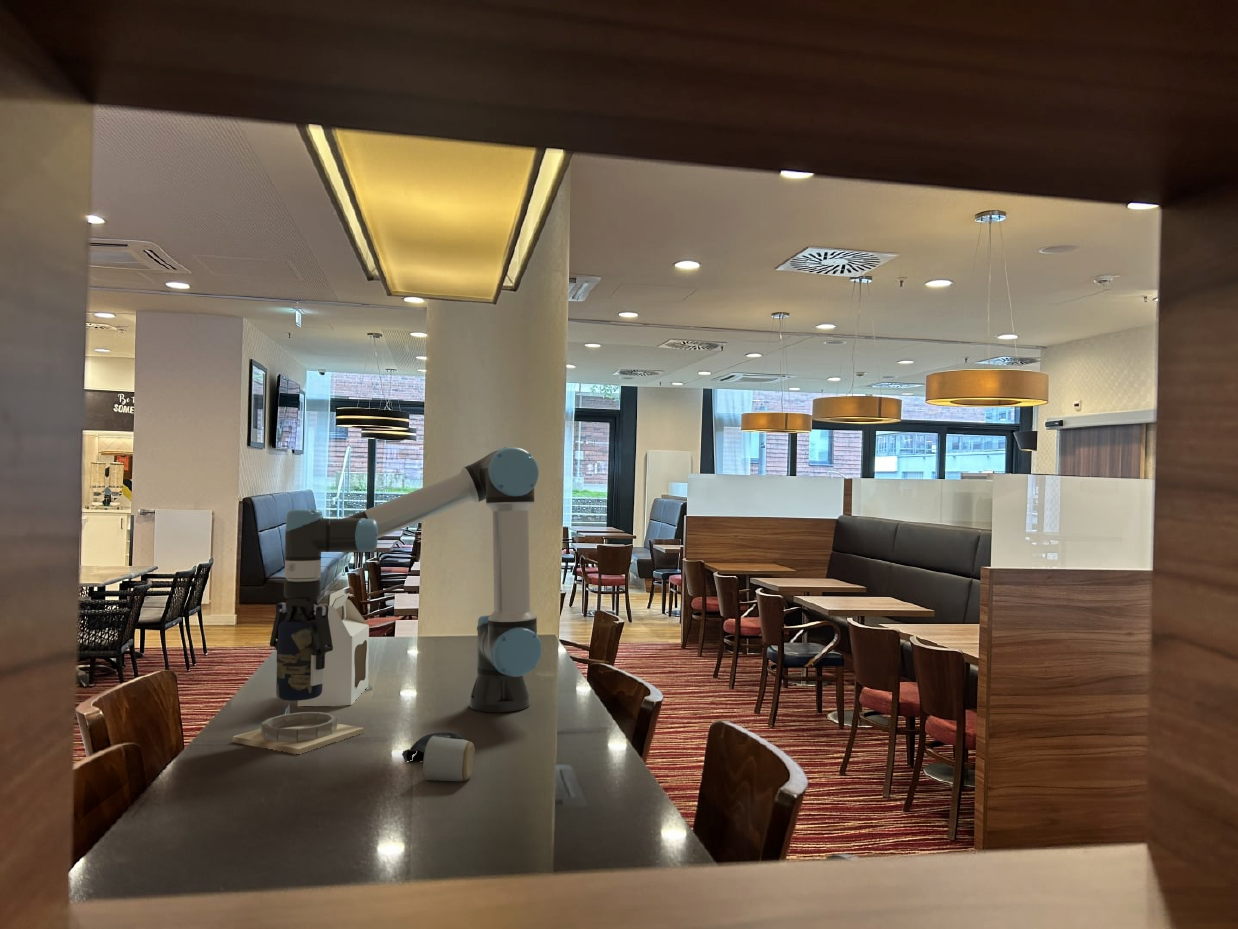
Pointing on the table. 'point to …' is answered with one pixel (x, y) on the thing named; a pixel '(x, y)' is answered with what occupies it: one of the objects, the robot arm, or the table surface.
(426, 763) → the ceramic mug
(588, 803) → the table surface
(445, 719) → the table surface
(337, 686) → the gable box
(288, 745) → the ring holder board
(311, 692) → the canister
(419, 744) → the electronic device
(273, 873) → the table surface
